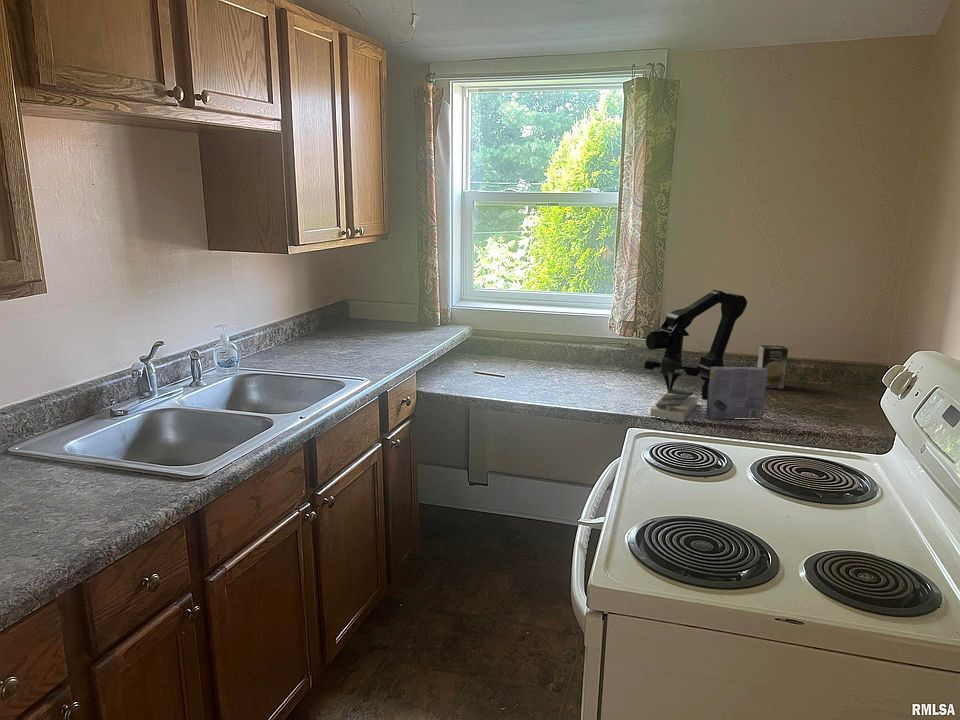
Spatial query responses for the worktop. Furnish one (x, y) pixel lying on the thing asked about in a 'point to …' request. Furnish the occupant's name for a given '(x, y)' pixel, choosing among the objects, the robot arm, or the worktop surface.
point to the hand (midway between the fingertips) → (669, 390)
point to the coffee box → (773, 364)
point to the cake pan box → (736, 392)
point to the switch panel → (675, 409)
